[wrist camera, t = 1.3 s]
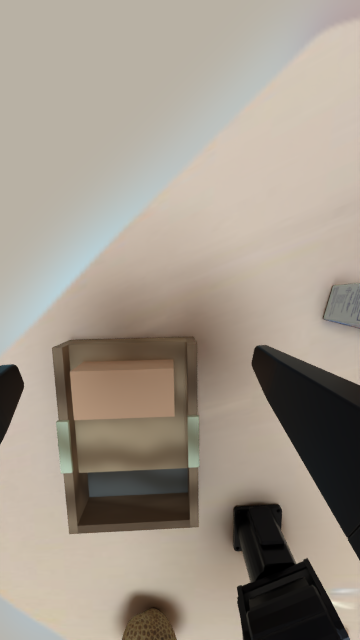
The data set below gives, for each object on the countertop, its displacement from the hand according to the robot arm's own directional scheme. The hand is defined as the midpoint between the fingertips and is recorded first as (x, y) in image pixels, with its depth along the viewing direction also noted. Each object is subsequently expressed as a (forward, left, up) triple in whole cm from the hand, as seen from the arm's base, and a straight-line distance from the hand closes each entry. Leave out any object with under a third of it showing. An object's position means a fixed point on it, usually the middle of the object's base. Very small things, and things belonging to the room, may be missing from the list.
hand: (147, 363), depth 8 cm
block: (-7, +4, -15) cm, 17 cm away
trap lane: (-13, +4, -17) cm, 22 cm away
